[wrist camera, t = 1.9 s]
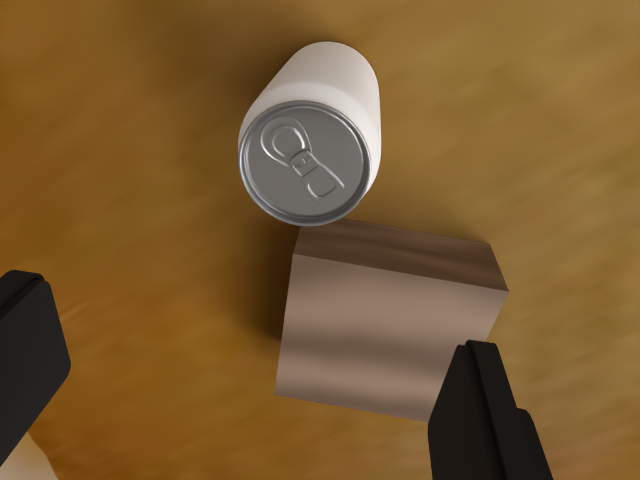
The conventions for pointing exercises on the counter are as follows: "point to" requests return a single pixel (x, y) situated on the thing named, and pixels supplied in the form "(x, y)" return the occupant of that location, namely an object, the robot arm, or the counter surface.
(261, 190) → the can
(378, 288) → the walnut block
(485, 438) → the robot arm
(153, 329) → the counter surface
